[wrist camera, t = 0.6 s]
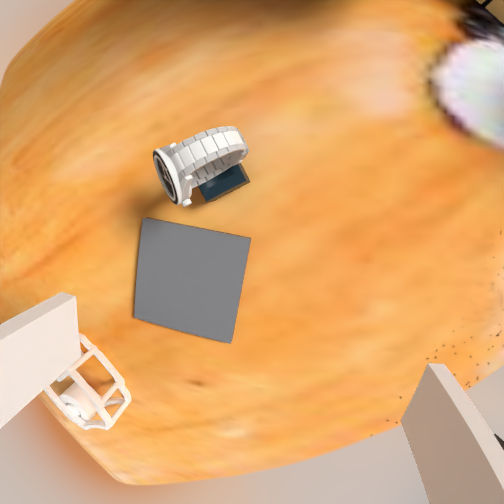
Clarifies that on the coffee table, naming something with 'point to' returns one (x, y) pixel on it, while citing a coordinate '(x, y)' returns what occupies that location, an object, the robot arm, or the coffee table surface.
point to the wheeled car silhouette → (89, 393)
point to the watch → (203, 165)
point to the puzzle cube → (494, 8)
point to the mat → (190, 278)
